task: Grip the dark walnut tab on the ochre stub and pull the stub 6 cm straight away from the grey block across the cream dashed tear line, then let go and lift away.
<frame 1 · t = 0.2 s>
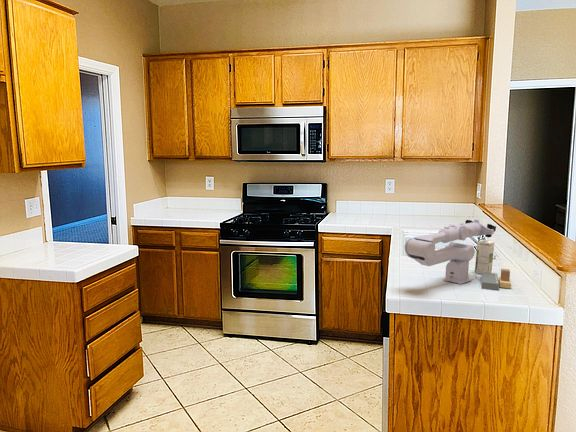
hand: (486, 226, 205), 21 cm above the table, tool horizontal, fingers open, 7 cm apart
grey block: (497, 284, 191), on the table
syrup box: (483, 273, 210), on the table
stub: (504, 277, 189), point 3 cm above the table, slide at 0.0 cm
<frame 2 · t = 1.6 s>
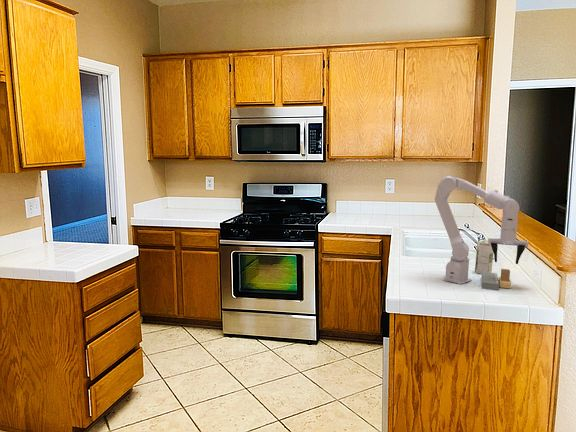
hand: (506, 262, 189), 9 cm above the table, tool pointing down, fingers open, 7 cm apart
nothing on the table moved.
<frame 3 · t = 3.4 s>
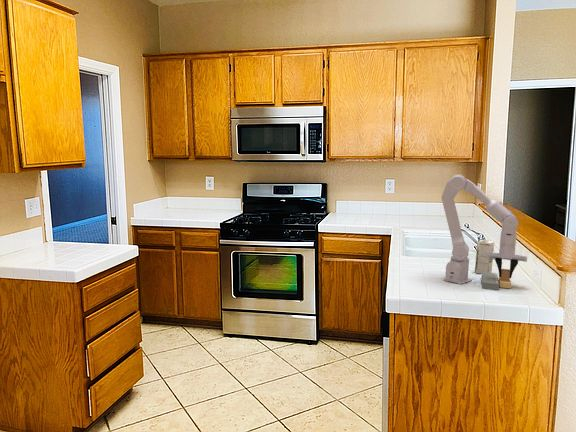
hand: (504, 277, 189), 3 cm above the table, tool pointing down, fingers closed on stub, 3 cm apart
stub: (504, 277, 189), point 3 cm above the table, slide at 0.0 cm, touching gripper
everything else where it was.
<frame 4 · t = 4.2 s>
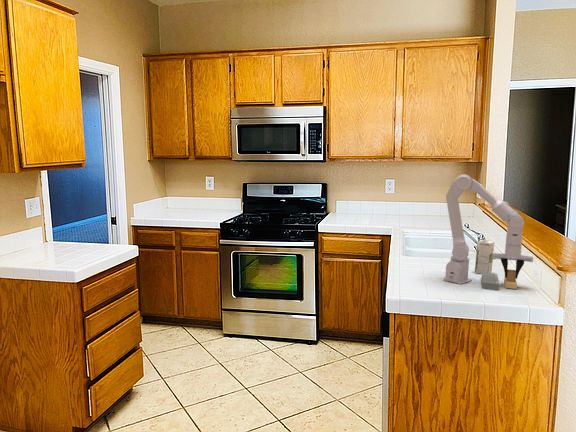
hand: (510, 277, 189), 3 cm above the table, tool pointing down, fingers closed on stub, 3 cm apart
stub: (510, 278, 189), point 3 cm above the table, slide at 2.1 cm, touching gripper
everything else where it was.
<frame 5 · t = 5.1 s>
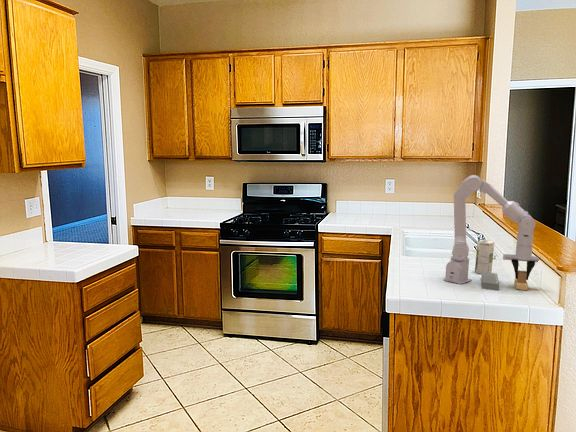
hand: (521, 278, 187), 3 cm above the table, tool pointing down, fingers closed on stub, 3 cm apart
stub: (521, 279, 187), point 3 cm above the table, slide at 6.0 cm, touching gripper
everything else where it was.
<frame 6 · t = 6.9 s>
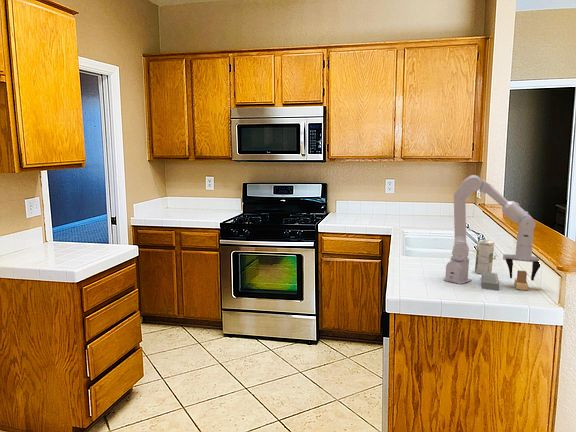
hand: (521, 278, 187), 3 cm above the table, tool pointing down, fingers open, 7 cm apart
stub: (521, 279, 187), point 3 cm above the table, slide at 6.0 cm
everything else where it was.
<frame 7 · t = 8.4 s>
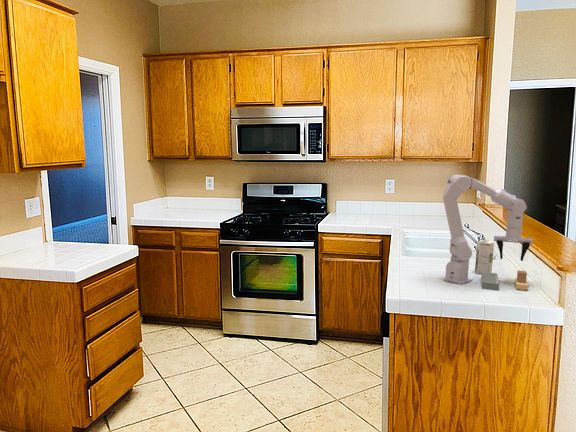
hand: (511, 259, 195), 9 cm above the table, tool pointing down, fingers open, 7 cm apart
nothing on the table moved.
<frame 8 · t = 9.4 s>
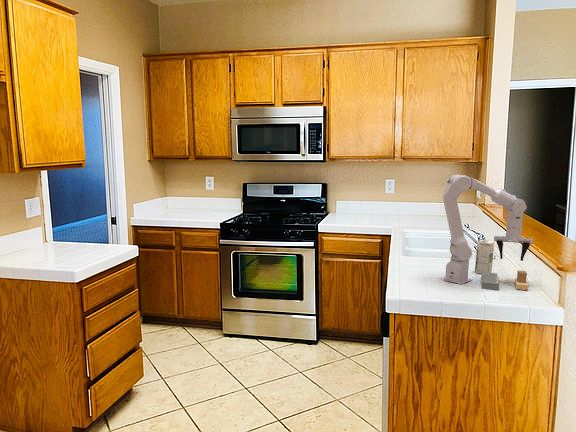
hand: (511, 259, 195), 9 cm above the table, tool pointing down, fingers open, 7 cm apart
nothing on the table moved.
at the end: stub slide at 6.0 cm; the gripper is holding nothing; syrup box moved 0.2 cm from its start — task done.
